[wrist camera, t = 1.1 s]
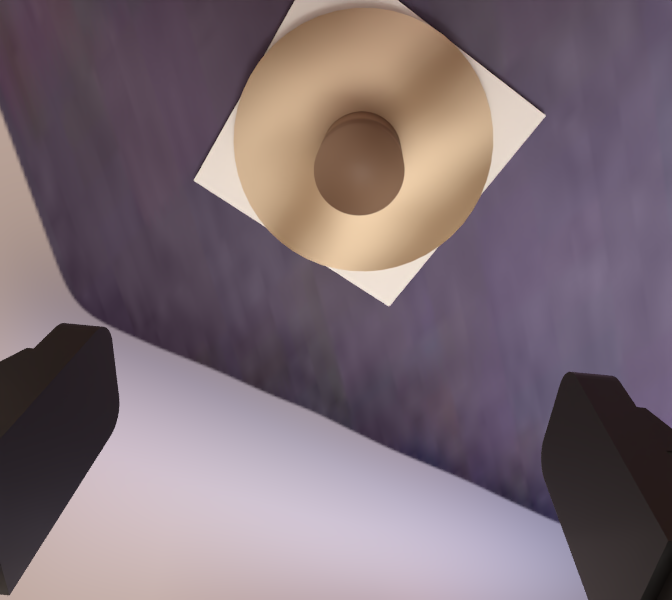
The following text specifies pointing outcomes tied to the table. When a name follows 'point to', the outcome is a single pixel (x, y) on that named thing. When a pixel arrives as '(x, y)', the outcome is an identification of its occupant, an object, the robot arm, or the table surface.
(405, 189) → the lid
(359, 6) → the mat
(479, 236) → the table surface
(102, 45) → the table surface
